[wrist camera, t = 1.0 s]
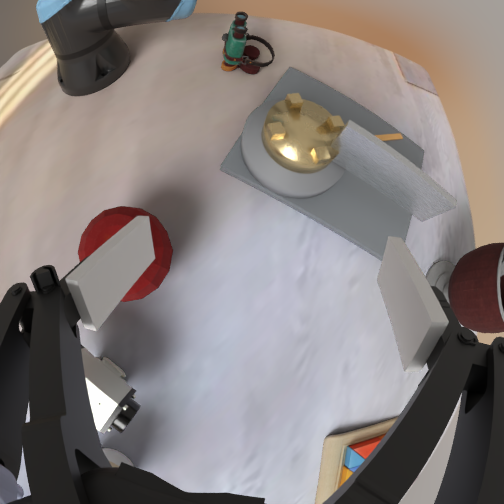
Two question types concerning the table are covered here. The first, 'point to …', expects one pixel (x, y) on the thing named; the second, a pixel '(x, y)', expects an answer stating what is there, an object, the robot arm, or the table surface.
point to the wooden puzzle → (347, 456)
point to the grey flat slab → (325, 170)
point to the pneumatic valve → (108, 393)
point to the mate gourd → (474, 287)
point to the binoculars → (242, 47)
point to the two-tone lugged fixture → (348, 155)
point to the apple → (115, 221)
